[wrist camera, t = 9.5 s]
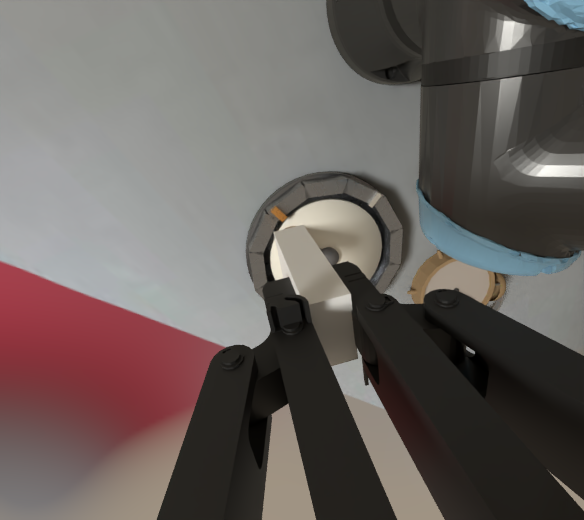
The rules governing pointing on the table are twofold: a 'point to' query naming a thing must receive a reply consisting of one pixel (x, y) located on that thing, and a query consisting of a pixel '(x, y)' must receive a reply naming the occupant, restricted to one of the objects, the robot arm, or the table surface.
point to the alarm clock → (457, 280)
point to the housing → (315, 189)
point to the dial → (336, 234)
